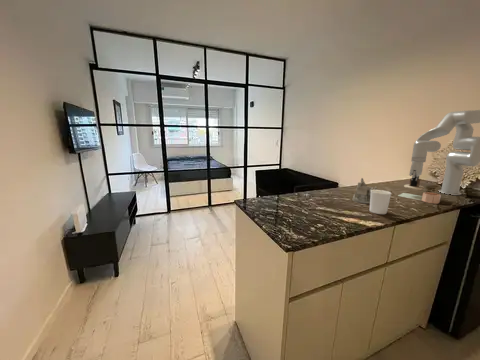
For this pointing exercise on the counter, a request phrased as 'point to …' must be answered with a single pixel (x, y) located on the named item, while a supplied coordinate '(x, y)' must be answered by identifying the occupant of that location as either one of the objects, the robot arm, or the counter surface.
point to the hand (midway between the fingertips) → (414, 185)
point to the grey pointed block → (363, 193)
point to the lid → (414, 186)
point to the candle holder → (379, 201)
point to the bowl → (431, 197)
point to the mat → (411, 196)
